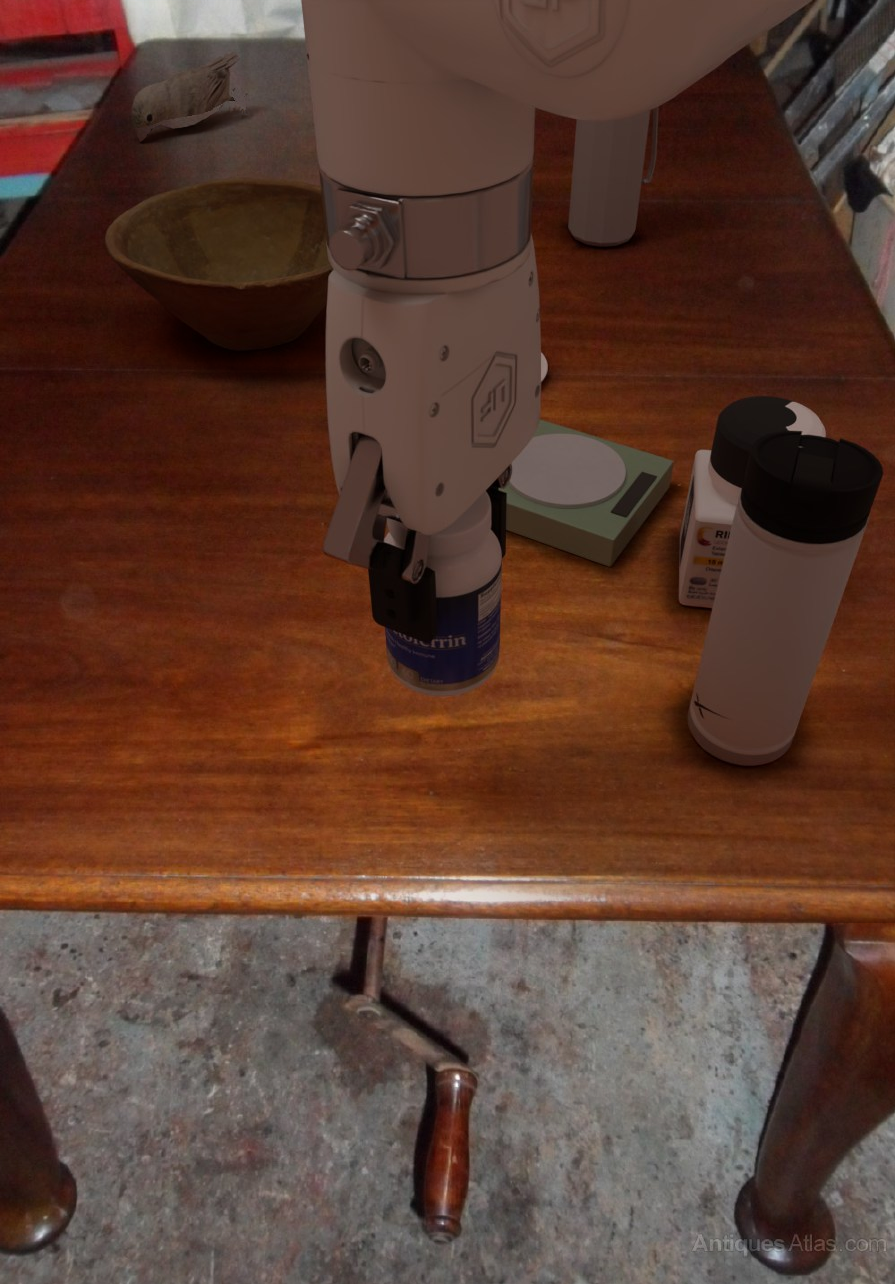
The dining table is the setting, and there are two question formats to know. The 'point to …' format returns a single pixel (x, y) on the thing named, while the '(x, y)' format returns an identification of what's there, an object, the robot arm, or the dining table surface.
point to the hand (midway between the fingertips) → (441, 586)
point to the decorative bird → (185, 93)
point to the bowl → (230, 257)
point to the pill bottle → (455, 608)
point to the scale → (583, 492)
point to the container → (727, 487)
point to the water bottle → (609, 178)
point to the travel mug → (779, 591)
